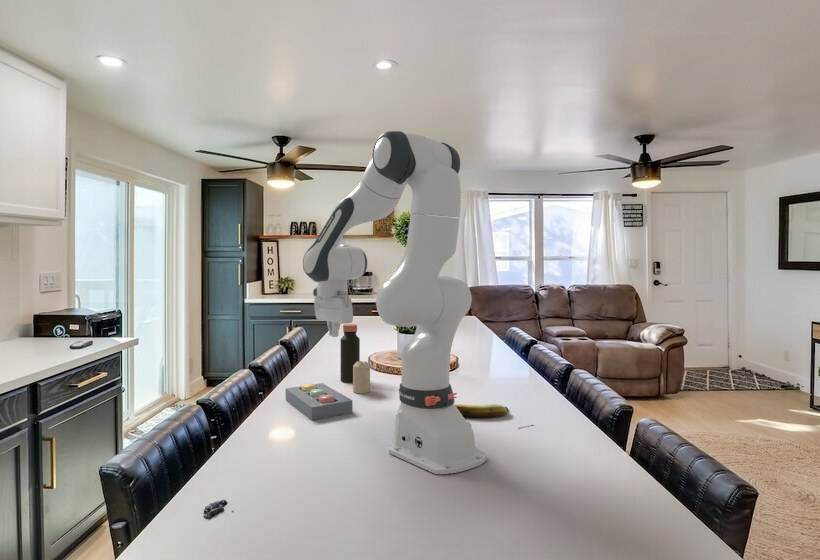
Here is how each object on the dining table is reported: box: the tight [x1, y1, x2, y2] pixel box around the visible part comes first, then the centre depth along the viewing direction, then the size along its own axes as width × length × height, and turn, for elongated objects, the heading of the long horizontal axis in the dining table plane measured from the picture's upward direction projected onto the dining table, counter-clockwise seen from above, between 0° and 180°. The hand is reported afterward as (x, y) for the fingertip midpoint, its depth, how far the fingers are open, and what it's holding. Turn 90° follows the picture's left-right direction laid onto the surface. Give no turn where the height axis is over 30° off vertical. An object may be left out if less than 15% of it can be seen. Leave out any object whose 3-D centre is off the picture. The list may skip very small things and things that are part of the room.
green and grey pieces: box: [455, 403, 533, 430], centre depth 129 cm, size 35×27×4 cm
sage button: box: [310, 389, 325, 398], centre depth 136 cm, size 4×4×3 cm
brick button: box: [319, 395, 334, 404], centre depth 130 cm, size 4×4×3 cm
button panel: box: [285, 382, 353, 421], centre depth 136 cm, size 22×12×4 cm, turn 33°
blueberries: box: [202, 499, 233, 520], centre depth 78 cm, size 7×8×2 cm
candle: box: [352, 360, 371, 394], centre depth 151 cm, size 6×6×10 cm
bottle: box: [340, 323, 361, 383], centre depth 165 cm, size 7×7×20 cm
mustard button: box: [301, 383, 316, 392], centre depth 142 cm, size 4×4×3 cm
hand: (333, 336), depth 140 cm, fingers closed
